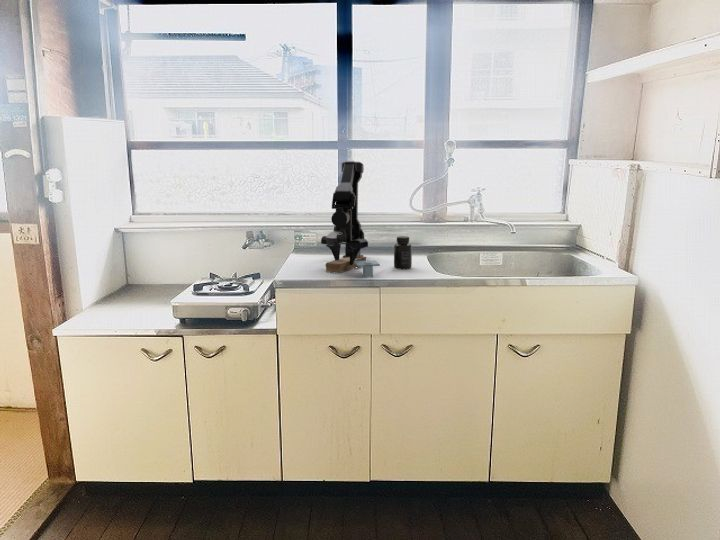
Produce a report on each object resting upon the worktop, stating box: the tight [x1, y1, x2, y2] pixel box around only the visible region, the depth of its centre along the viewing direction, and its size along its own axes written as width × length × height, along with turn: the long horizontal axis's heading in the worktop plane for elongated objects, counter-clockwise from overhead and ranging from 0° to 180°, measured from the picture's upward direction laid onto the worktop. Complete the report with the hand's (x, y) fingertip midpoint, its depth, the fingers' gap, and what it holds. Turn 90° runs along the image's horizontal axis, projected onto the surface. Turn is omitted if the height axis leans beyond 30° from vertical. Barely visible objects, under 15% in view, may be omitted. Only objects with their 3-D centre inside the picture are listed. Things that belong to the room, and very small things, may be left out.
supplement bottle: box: [393, 235, 413, 270], centre depth 202 cm, size 7×7×12 cm
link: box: [325, 255, 367, 274], centre depth 202 cm, size 18×6×3 cm, turn 143°
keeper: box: [354, 259, 381, 278], centre depth 191 cm, size 7×8×4 cm
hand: (344, 264), depth 201 cm, fingers open, 7 cm apart
